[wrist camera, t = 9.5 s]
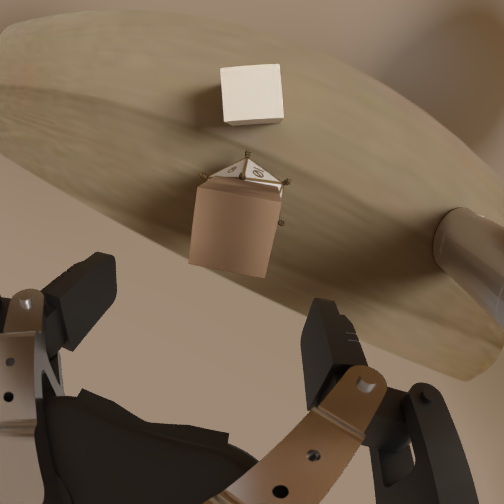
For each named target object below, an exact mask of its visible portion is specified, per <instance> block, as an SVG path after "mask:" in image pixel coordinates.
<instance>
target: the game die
mask: <svg viewBox="0 0 504 504" xmlns="http://www.w3.org/2000/svg"><path fill="white" fill-rule="evenodd" d="M250 153H251V152H250V151H249V149H247V150H246V152H245V156H246V157H245V158H244V159H242V160H240V161H238V162H236V163H234V164H232V165H230V166H228V167H226V168H224V169H222V170H220V171H218V172H216V173H214V174H212V175H210V176H206V174H203V173H198V174H199V176H200V178H202V179H205V180H206V181H208V180H209V179H211V178H212V177H214V176H215V175H216V176H223V177H228V178H234V179H240V180H245V181H251V182H256V183H261V184H267V185H272V186H277V187H278V189H279V193H280V197H281V201H282V195H283V188H284V185H288V184H289V185H290V183H291V181H292V180H289V179H287V180H284V181H283V182H282V181H280V180H279V179H278V178H276V177H275V176H274V175H272V174H271V173H269V172H268V171H267V170H265V169H264V168H263V167H261V166H260V165H258V164H257V163H255V162H254V161H253V160H251V159H250V158H249V156H250ZM280 210H281V209H280ZM279 217H280V214H279ZM278 225H280V226H285V224H284V221H282V220H279V218H278Z"/></svg>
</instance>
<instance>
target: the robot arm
mask: <svg viewBox="0 0 504 504" xmlns="http://www.w3.org/2000/svg"><path fill="white" fill-rule="evenodd" d="M433 254H434V258H435V261H436V263H437V264H438V265H439V266H440V268H442V269H443V270H444V271H445V272H446V273H447V274H448V275H449V276H450V277H451V278H453V279H454V280H455V281H456V282H457V283H458V284H459V285H460V286H461V287H462V288H463V289H464V290H465V291H466V292H467V293H468V294H469V295H470V296H471V297H472V298H473V299H474V300H475V301H476V302H477V303H478V304H479V305H480V306H481V307H482V308H483V309H484V310H485V311H486V312H487V313H488V314H489V315H490V316H491V317H492V318H493V319H494V320H495V321H496V323H497V324H498V325H499V326H500V327H501V328H502V329H503V330H504V227H503V226H501V225H499V224H497V223H495V222H493V221H491V220H489V219H487V218H486V217H484V216H482V215H479V214H477V213H475V212H473V211H471V210H469V209H467V208H456V209H454V210H452V211H451V212H449V213H448V214H447V215H446V216H445V217H444V218H443V219H442V221H441V222H440V224H439V226H438V228H437V230H436V233H435V236H434V241H433ZM116 294H117V284H116V262H115V258H114V256H112V255H109V254H105V253H101V252H96V253H94V254H93V255H91V256H90V257H89V258H87V259H86V260H84V261H82V262H79V263H77V264H74V265H73V266H71V267H70V268H69V269H67V271H65V272H64V273H62V274H61V275H60V276H58V277H57V278H56V279H55V280H53V281H52V282H51V283H50V284H48V285H47V286H46V287H45V288H43V289H42V290H41V291H39V290H36V289H26V290H22V291H20V292H18V293H16V294H15V295H14V296H13V297H12V298H11V299H9V298H3V297H1V296H0V504H319V503H320V502H321V500H322V499H323V498H324V497H325V496H326V494H327V493H328V492H329V490H330V489H331V487H332V486H333V485H334V484H335V482H336V481H337V480H338V478H339V477H340V475H341V474H342V473H343V471H344V470H345V468H346V467H347V465H348V464H349V462H350V461H351V459H352V458H353V456H354V455H355V453H356V451H357V450H358V448H359V447H360V445H364V446H368V447H369V448H370V455H371V463H372V471H373V479H374V486H375V497H376V504H479V502H478V498H477V494H476V490H475V486H474V482H473V479H472V475H471V472H470V468H469V465H468V462H467V459H466V456H465V453H464V450H463V447H462V444H461V441H460V439H459V436H458V433H457V430H456V428H455V425H454V423H453V420H452V418H451V415H450V413H449V410H448V408H447V406H446V403H445V401H444V399H443V396H442V395H441V393H440V392H439V391H438V390H437V389H436V388H435V387H433V386H432V385H430V384H427V383H416V384H414V385H413V386H412V387H411V389H410V390H409V391H408V392H404V391H400V390H397V389H393V388H390V387H387V383H386V380H385V378H384V377H383V375H382V374H381V373H379V372H378V371H377V370H375V369H373V368H371V367H368V364H367V361H366V358H365V356H364V353H363V350H362V348H361V345H360V343H359V339H358V337H357V335H356V331H355V329H354V326H353V324H352V323H351V322H350V321H349V320H348V318H347V317H346V316H345V315H339V312H338V309H337V306H336V304H335V302H334V301H332V300H326V299H320V298H315V299H314V300H313V302H312V305H311V308H310V311H309V314H308V317H307V320H306V322H305V326H304V328H303V331H302V336H301V353H302V362H303V371H304V381H305V391H306V402H307V410H308V411H310V412H309V413H308V414H307V415H306V416H305V417H304V418H303V419H302V420H301V421H300V422H299V423H298V424H297V425H296V426H295V428H294V429H293V430H292V431H291V432H290V433H289V434H288V435H287V436H286V437H285V438H284V439H283V440H282V441H281V442H279V443H278V444H277V445H276V446H275V447H274V448H273V449H272V450H271V451H270V452H269V453H268V454H267V455H266V456H265V457H264V458H262V459H261V460H260V461H258V460H257V459H255V458H254V457H253V456H251V455H250V454H248V453H247V452H245V451H244V450H242V449H240V448H238V447H236V446H233V445H231V444H229V443H228V437H229V433H225V432H220V431H214V430H209V429H204V428H200V427H195V426H191V425H177V424H160V423H150V422H146V421H144V420H142V419H140V418H138V417H137V416H135V415H133V414H132V413H130V412H129V411H127V410H126V409H124V408H123V407H121V406H119V405H118V404H116V403H115V402H113V401H111V400H108V399H106V398H103V397H101V396H99V395H96V394H94V393H92V392H89V391H87V390H85V389H82V390H81V391H80V393H79V394H78V396H77V397H72V396H65V393H64V386H63V378H62V368H61V357H60V353H59V350H60V348H61V347H63V348H65V349H67V350H70V351H74V350H75V348H76V347H77V346H78V345H79V343H80V342H81V341H82V340H83V338H84V337H85V336H86V335H87V333H88V332H89V331H90V330H91V329H92V327H93V326H94V325H95V324H96V323H97V321H98V320H99V319H100V318H101V316H102V315H103V314H104V313H105V312H106V311H107V309H108V308H109V307H110V306H111V305H112V304H113V302H114V300H115V298H116ZM411 442H412V446H413V450H414V454H415V460H416V461H415V466H414V462H413V458H412V454H411V449H410V445H409V444H410V443H411Z"/></svg>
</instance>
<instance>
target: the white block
mask: <svg viewBox="0 0 504 504" xmlns="http://www.w3.org/2000/svg"><path fill="white" fill-rule="evenodd" d="M220 71H221V86H222V100H223V114H224V122H226V123H228V124H230V125H232V126H238V125H251V124H267V123H281V121H282V120H283V118H284V114H283V100H282V88H281V76H280V65H279V64H265V65H249V66H238V67H228V68H220Z"/></svg>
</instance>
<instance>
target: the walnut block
mask: <svg viewBox="0 0 504 504" xmlns="http://www.w3.org/2000/svg"><path fill="white" fill-rule="evenodd" d="M281 204H282V201H281V197H280V193H279V189H278V187H277V186H272V185H267V184H261V183H256V182H251V181H245V180H240V179H234V178H228V177H223V176H216V175H215V176H214V177H212V178H211V179H209V180H208V181H206V182H205V183H203V184H202V185H200V186H198V187H197V194H196V201H195V209H194V217H193V225H192V234H191V243H190V253H189V264H193V265H197V266H202V267H207V268H213V269H218V270H223V271H228V272H233V273H238V274H244V275H249V276H254V277H260V278H265V276H266V271H267V267H268V263H269V258H270V254H271V249H272V245H273V241H274V236H275V232H276V227H277V223H278V218H279V214H280V209H281Z"/></svg>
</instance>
